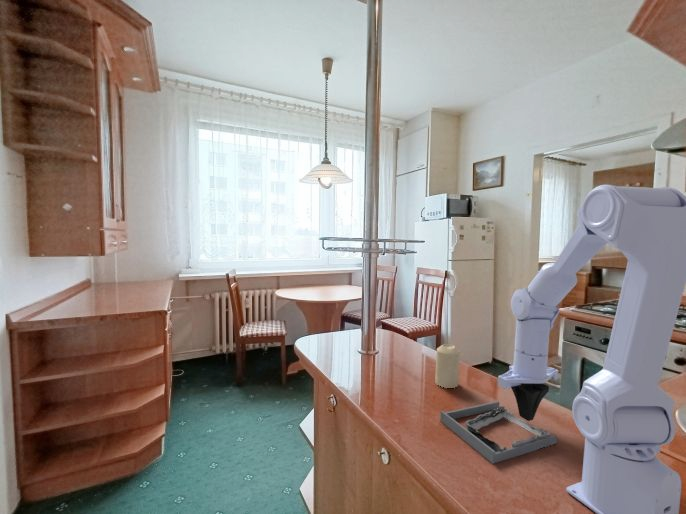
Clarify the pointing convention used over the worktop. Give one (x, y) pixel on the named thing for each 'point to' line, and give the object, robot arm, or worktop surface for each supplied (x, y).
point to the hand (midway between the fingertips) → (526, 417)
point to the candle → (447, 366)
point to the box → (481, 446)
